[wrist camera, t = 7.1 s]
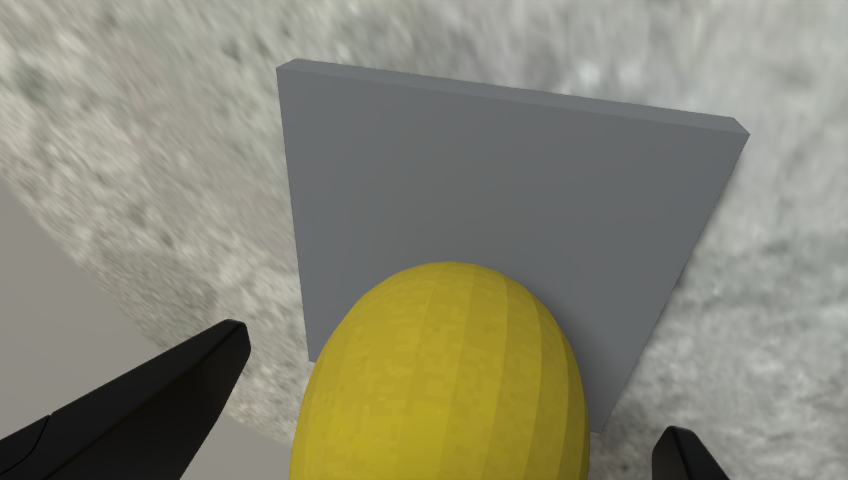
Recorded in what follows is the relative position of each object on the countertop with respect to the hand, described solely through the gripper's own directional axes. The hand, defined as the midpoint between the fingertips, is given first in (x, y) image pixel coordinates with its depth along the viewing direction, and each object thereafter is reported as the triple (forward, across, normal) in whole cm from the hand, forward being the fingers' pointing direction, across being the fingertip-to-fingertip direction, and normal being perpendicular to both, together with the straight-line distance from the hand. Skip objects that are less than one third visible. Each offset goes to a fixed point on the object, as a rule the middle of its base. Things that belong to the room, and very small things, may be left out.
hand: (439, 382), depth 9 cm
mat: (+4, 0, 0) cm, 4 cm away
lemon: (+4, 0, 0) cm, 4 cm away
